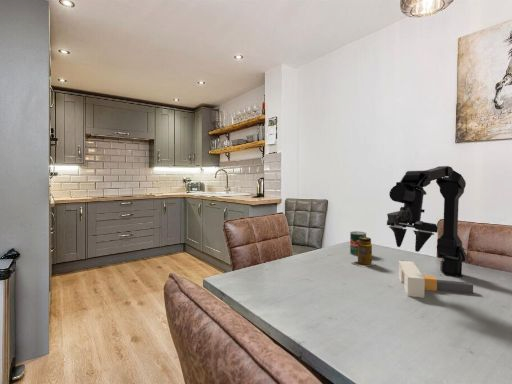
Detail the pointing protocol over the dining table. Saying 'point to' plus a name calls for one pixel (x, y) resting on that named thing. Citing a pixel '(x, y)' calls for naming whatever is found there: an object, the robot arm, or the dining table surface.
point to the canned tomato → (355, 241)
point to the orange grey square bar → (447, 285)
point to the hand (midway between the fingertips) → (407, 249)
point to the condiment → (364, 252)
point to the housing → (411, 279)
